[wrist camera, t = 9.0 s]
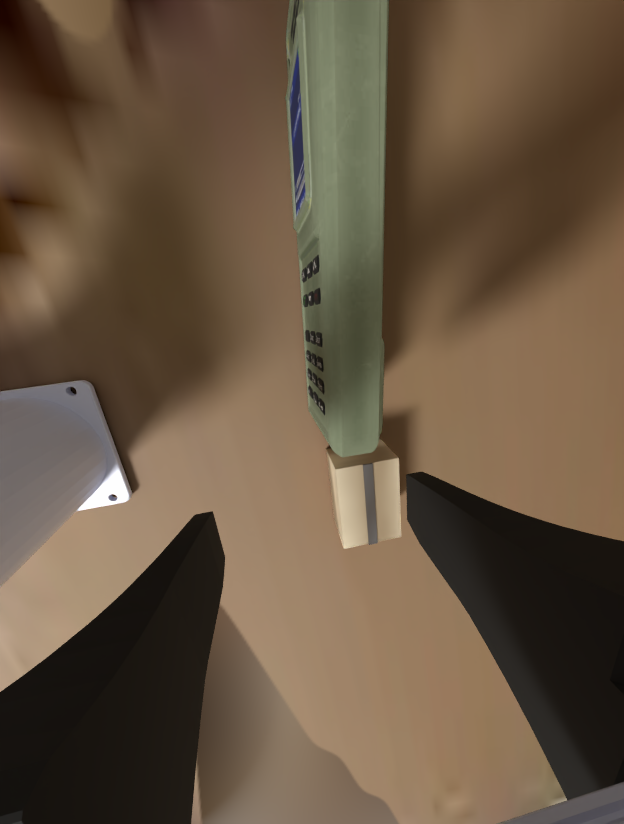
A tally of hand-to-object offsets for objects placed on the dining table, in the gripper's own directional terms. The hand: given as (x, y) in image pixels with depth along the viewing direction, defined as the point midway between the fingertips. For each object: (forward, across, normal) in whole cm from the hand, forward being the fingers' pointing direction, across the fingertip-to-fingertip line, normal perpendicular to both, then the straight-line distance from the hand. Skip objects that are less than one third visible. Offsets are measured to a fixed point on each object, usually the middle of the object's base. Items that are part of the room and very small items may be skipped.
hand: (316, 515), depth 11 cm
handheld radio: (+10, -3, -13) cm, 17 cm away
